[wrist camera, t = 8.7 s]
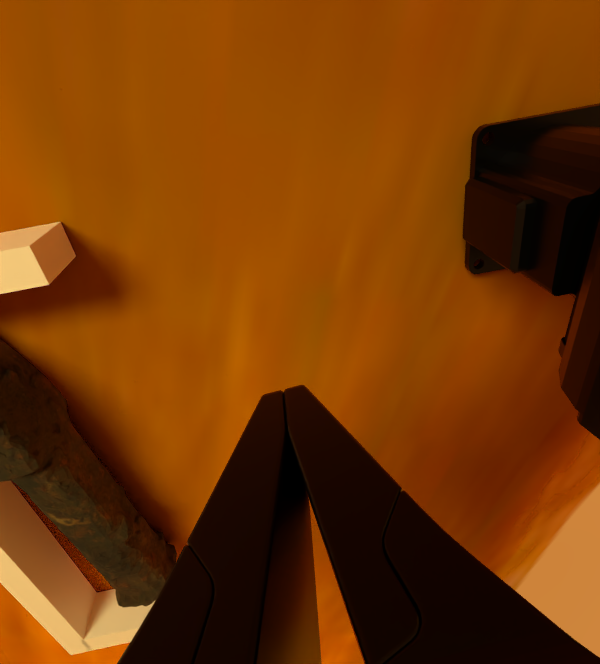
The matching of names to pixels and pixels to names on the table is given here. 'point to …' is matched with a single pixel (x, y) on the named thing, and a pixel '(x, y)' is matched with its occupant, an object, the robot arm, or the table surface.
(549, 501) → the table surface
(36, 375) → the hand tool
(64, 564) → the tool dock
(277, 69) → the table surface
